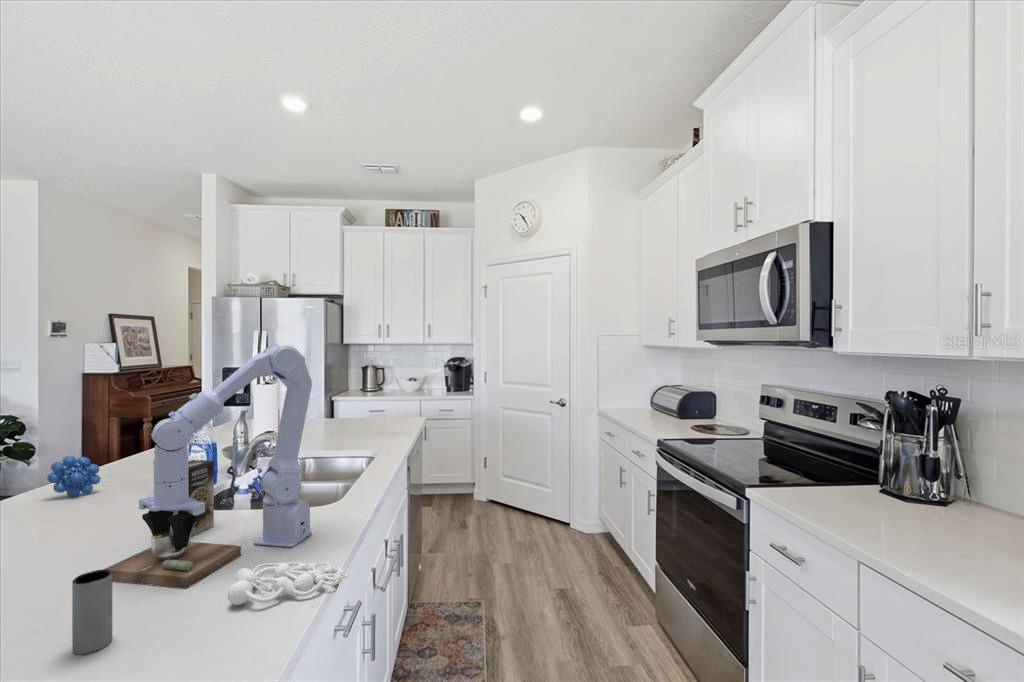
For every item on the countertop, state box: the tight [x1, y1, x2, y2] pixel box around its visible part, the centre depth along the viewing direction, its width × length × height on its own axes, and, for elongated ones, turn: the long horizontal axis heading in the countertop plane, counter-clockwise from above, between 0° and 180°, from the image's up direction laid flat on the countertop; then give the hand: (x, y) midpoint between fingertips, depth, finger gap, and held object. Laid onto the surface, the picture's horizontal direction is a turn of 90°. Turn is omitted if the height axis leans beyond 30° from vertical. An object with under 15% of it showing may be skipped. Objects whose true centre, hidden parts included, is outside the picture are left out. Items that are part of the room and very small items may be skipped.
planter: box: [71, 569, 113, 655], centre depth 73 cm, size 4×4×10 cm
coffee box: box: [170, 459, 215, 537], centre depth 116 cm, size 9×6×16 cm
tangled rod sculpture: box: [227, 561, 349, 606], centre depth 91 cm, size 19×14×4 cm
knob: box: [151, 531, 192, 560], centre depth 99 cm, size 6×4×5 cm
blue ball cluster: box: [46, 455, 101, 498], centre depth 142 cm, size 12×7×12 cm, turn 139°
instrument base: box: [102, 541, 242, 589], centre depth 98 cm, size 18×14×4 cm
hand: (171, 546), depth 99 cm, fingers closed on knob, 4 cm apart
